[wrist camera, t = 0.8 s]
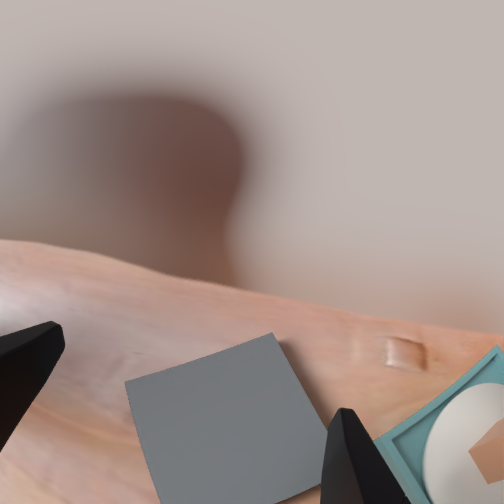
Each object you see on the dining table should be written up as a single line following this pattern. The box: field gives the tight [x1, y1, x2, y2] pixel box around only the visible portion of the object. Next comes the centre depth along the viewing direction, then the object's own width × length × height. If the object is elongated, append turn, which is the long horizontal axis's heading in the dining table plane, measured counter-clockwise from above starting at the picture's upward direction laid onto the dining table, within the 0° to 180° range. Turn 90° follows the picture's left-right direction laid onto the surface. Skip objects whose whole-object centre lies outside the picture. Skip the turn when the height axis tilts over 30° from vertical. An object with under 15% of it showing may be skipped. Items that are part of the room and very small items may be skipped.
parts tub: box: [373, 345, 504, 504], centre depth 14 cm, size 12×12×6 cm
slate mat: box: [125, 333, 328, 504], centre depth 19 cm, size 12×12×2 cm
